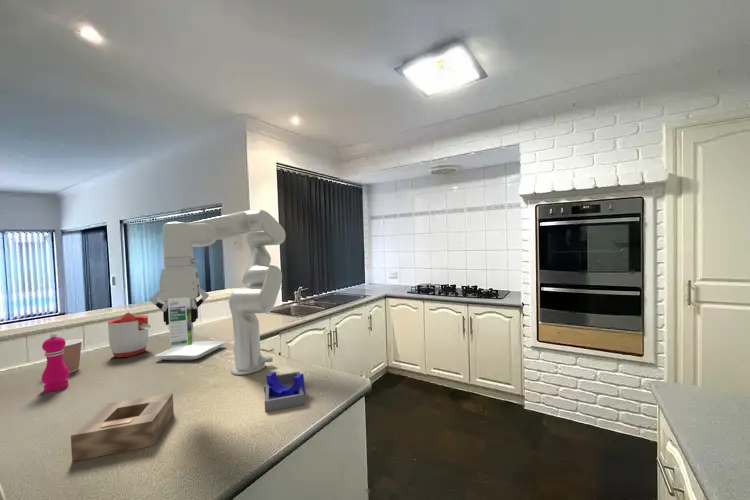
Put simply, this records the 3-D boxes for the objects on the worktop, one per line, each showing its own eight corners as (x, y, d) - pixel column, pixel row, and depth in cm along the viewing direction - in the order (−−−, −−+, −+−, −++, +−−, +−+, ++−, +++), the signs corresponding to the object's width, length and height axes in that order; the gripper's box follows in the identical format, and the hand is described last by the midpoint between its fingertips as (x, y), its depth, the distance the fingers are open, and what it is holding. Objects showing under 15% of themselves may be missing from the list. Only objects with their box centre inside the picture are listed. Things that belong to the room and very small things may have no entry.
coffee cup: (44, 374, 130) (42, 345, 130) (75, 365, 139) (74, 338, 139) (58, 377, 126) (56, 347, 126) (89, 368, 136) (87, 340, 135)
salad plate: (188, 347, 160) (187, 340, 160) (227, 347, 157) (226, 340, 157) (153, 363, 139) (152, 355, 139) (197, 363, 136) (196, 355, 136)
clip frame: (299, 380, 112) (299, 371, 112) (304, 404, 94) (303, 394, 94) (267, 385, 109) (266, 376, 109) (265, 412, 91) (264, 401, 91)
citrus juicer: (137, 358, 145) (135, 315, 145) (99, 360, 145) (97, 316, 145) (160, 347, 161) (158, 308, 161) (127, 349, 161) (124, 309, 161)
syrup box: (169, 348, 92) (167, 298, 92) (173, 343, 98) (171, 296, 98) (191, 345, 94) (189, 296, 94) (194, 340, 100) (192, 294, 100)
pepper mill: (38, 394, 111) (34, 337, 111) (47, 386, 117) (44, 332, 117) (65, 389, 114) (62, 333, 114) (73, 382, 121) (70, 329, 120)
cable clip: (264, 396, 102) (263, 377, 101) (273, 389, 106) (272, 371, 106) (297, 399, 98) (295, 379, 98) (305, 392, 102) (303, 373, 102)
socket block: (173, 413, 93) (172, 392, 93) (153, 445, 77) (152, 420, 77) (107, 425, 88) (106, 402, 88) (72, 461, 73) (70, 434, 73)
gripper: (212, 261, 102) (215, 317, 102) (150, 264, 97) (152, 323, 97) (208, 262, 95) (210, 322, 95) (140, 265, 90) (142, 328, 90)
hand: (181, 322), depth 96 cm, fingers closed on syrup box, 6 cm apart
